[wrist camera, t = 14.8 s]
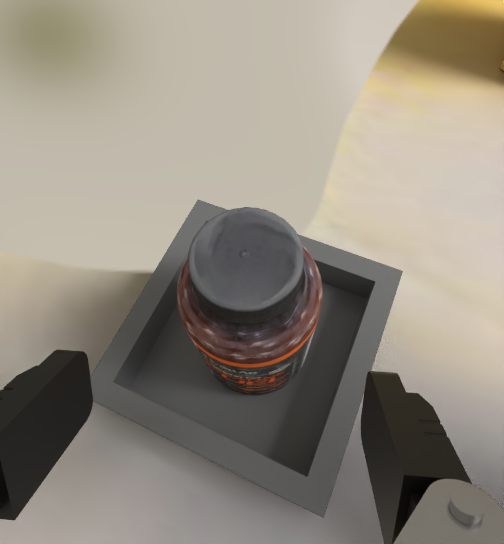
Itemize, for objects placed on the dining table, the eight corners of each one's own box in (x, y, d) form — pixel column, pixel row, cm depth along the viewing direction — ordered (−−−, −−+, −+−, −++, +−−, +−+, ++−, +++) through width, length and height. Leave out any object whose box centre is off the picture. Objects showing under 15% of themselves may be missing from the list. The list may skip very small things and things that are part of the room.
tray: (387, 295, 26) (402, 271, 23) (315, 510, 21) (323, 518, 18) (206, 229, 29) (197, 199, 25) (106, 404, 24) (80, 394, 20)
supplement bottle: (204, 400, 22) (145, 343, 12) (207, 300, 25) (161, 186, 15) (311, 397, 22) (342, 336, 12) (303, 297, 25) (323, 178, 15)
